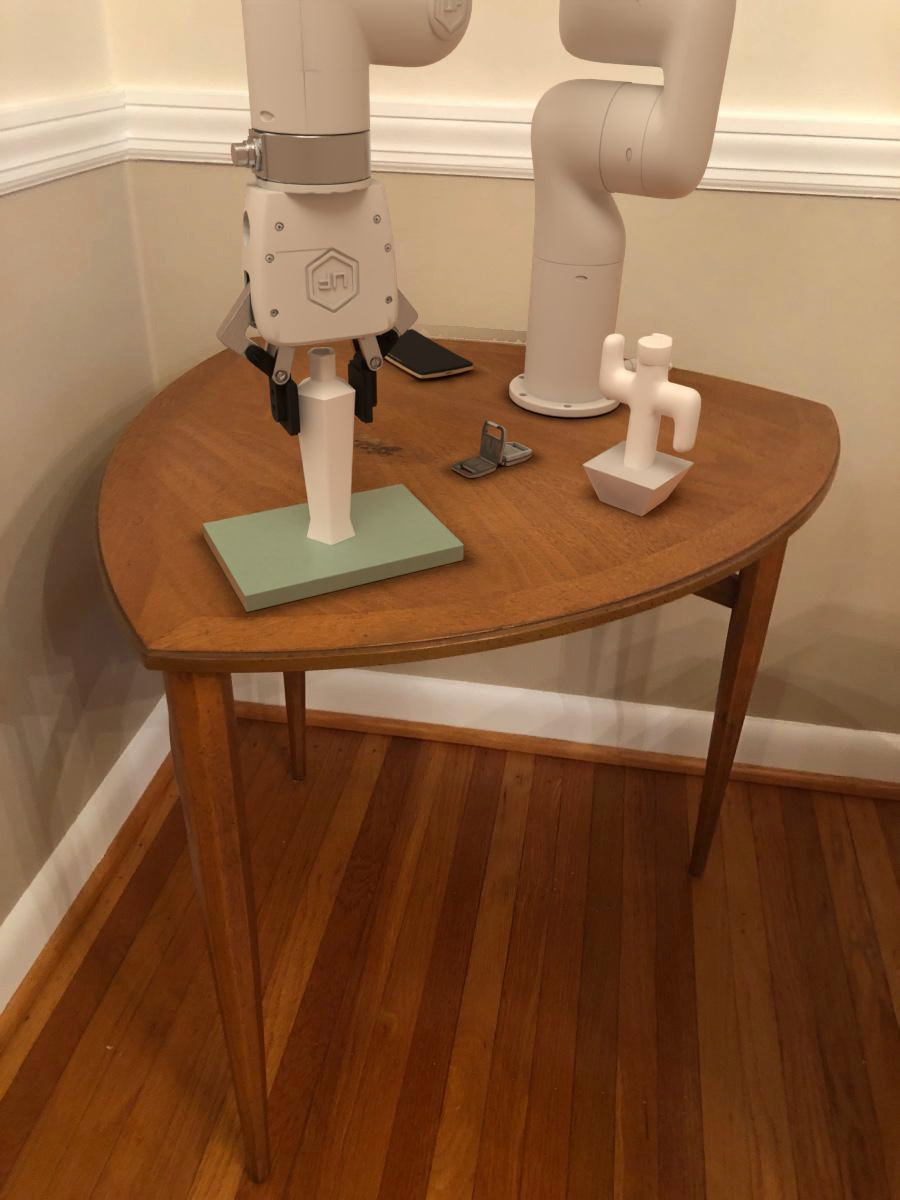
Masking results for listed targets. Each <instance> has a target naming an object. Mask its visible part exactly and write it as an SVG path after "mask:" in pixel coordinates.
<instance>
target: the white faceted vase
mask: <svg viewBox="0 0 900 1200" xmlns="http://www.w3.org/2000/svg"><path fill="white" fill-rule="evenodd" d="M337 354H338V351H337V350H335V349H334V348H333V347H329V346H321V347H320V346H317V347H315V346H314V347H311V348H310V349H309V350H308V351H307V352H306V355H307V356H308V362H309V376H308V377H306V378H304V379H302V380H301V382H300V383H299V384H297V387H298V399H299V415H300V430H301V431H300V433H298V435H297V436H298V441H299V447H300V449H299V450H300V455H301V462H302V463H301V464H302V469H303V477H304V483H305V490H306V491H305V492H306V497H307V503H308V505H309V512H310V524H309V529H308V534H307V538H310V539H313V540H316V541H319V542H322V543H325V544H329V545H334V544H336V543H339V542H341V541H344V540H346V539H349V538H351V537H354V536H355V532H354V529H353V526H352V522H351V519H350V505H351V494H352V479H353V458H354V457H353V455H354V453H353V452H354V432H355V415H354V410H355V390H354V389H353V388H352V387H351V386H350V385H349V384H348V381H346V380H345V378H343V377H340V376H338V375H337V365H336V363H337V362H336V355H337Z"/></svg>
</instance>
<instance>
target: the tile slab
mask: <svg viewBox="0 0 900 1200" xmlns="http://www.w3.org/2000/svg"><path fill="white" fill-rule="evenodd" d="M350 519H351V522H352V526H353V529H354V532H355V536H354V537H351V538H349V539H346V540H344V541H341V542H339V543H336V544H334V545H329V544H325V543H322V542H319V541H316V540H313V539H310V538H307V534H308V529H309V524H310V512H309V505H308V502H304V503H298V504H293V505H289V506H284V507H278V508H273V509H268V510H263V511H258V512H252V513H249V514H243V515H238V516H233V517H227V518H223V519H218V520H213V521H208V522H204V523H202V531H203V537H204V540H205V543H206V544H207V545H208V547H209V550H210V551H211V552H212V554H213V556H214V557H215V560H216V561H217V563H218V565H219V566H220V568H221V570H222V572H223V573H224V575H225V577H226V579H227V580H228V582H229V584H230V586H231V587H232V589H233V591H234V592H235V594H236V596H237V598H238V599H239V602H240V603H241V604H242V606H243V608H244V610H245V612H246V613H250V612H253V611H259V610H262V609H266V608H271V607H275V606H279V605H283V604H287V603H291V602H296V601H299V600H305V599H308V598H312V597H316V596H317V597H318V596H320V595H325V594H328V593H333V592H337V591H341V590H346V589H350V588H353V587H358V586H362V585H366V584H370V583H374V582H379V581H383V580H387V579H391V578H394V577H399V576H403V575H408V574H411V573H416V572H421V571H424V570H429V569H433V568H437V567H441V566H444V565H445V566H446V565H449V564H453V563H458V562H462V561H464V555H465V554H464V553H465V552H464V551H465V544H464V543H463V542H462V541H461V540H460V539H459V538H458V537H457V536H456V535H455V534H454V533H453V532H452V531H451V530H450V529H449V528H448V527H446V525H445V524H444V523H443V522H442V521H441V520H440V519H439V518H437V516H435V515H434V514H433V512H431V510H430V509H429V508H428V507H426V505H424V504H423V503H422V502H421V501H420V500H419V499H418V497H416V496H415V495H414V494H413V493H412V492H411V491H410V490H409V489H408V488H407V487H406V486H405V485H404V484H403V483H399V484H394V485H388V486H383V487H378V488H373V489H369V490H364V491H359V492H353V493H351V505H350Z"/></svg>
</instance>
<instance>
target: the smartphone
mask: <svg viewBox="0 0 900 1200" xmlns="http://www.w3.org/2000/svg"><path fill="white" fill-rule="evenodd" d="M384 359H385V360H387V361H388V362H390V363H392V364H394V365H395V366H397V367H399V368H400V369H402V370H404V371H405V372H407V373H409V374H411V375H413V376H415V377H417V378H418V379H430V378H439V377H444V376H451V375H455V374H460V373H463V372H467V371H470V370H473V369H474V363H473V362H472V361H471V360H468V359H466V358H464V357H463V356H460V355H458V354H457V353H455V352H453V351H452V350H450V349H448V348H447V347H444V346H442V345H440V344H439V343H437V342H435V341H434V340H432V339H431V338H429V337H427V336H425V335H423V334H422V333H420V332H419V331H417V330H415V329H414V328H413V329H411V328H409V329H408V330H407V331H406V332H405V333H404V334H403V335H401V336H400V337H399V339H398V342H397V343H396V344H395V346H394V347H393V348H392V349H391V350H390V352H389V353H388V354H387V355H386V357H385V358H384Z"/></svg>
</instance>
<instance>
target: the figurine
mask: <svg viewBox="0 0 900 1200" xmlns="http://www.w3.org/2000/svg"><path fill="white" fill-rule="evenodd" d="M673 343H674V340H673V337H672V336H670V335H668V334H666V333H665V334H664V333H659V332H653V333H652V334H651V335H646V336H642V337H640V338H639V339H638V340H637V349H636V358H637V368H636V372H632V371H628V370H626V369H625V367H624V360H625V350H626V349H625V348H626V338H625V336H624V335H622V334H621V333H615V334H611V335H609V336H607V337H606V339H605V340H604V344H603V350H602V359H601V367H600V377H599V388H600V391H601V393H602V395H603V396H604V397H606V398H608V399H611V400H615V401H618V402H620V404H621V403H622V404H624V405H628V406H629V407H628V408H629V409H630V411H629V420H628V427H627V432H626V433H627V435H626V439H625V440H622V441H620V442H619V443H617V444H615V445H613V446H611V447H610V448H608V449H607V450H604V451H602V452H601V453H600V454H598V455H596V456H595V457H593V458H591V459H590V460H588V461H586V462H584V463H583V464H581V466H582V468H583V470H584V472H585V474H586V475H587V478H588V480H589V482H590V485H591V486H592V488H593V490H594V492H595V494H596V497H597V498H598V500H599V502H601V503H604V504H607V505H609V506H612V507H615V508H617V509H620V510H623V511H626V512H628V513H631V514H634V515H637V516H639V517H644V516H645V515H646V514H648V513H649V512H651V511H652V510H653V509H655V508H656V507H658V506H659V505H661V504H662V503H663V502H665V501H666V500H667V499H668V498H669V497H670V495H671V494H672V492H673V491H674V489H675V488H677V486H678V485H679V483H680V482H681V481H682V480H683V478H684V477H685V476H686V474H688V472H689V470H690V469H691V468H692V467H693V466H694V464H695V462H693V461H690V460H687V459H683V458H681V457H678V456H674V455H671V454H668V453H665V452H662V451H659V450H657V446H658V440H659V432H660V426H661V421H662V416H664V417H669V418H672V420H673V422H674V432H673V440H672V448H673V449H674V451H676V452H677V453H687V452H689V451H691V450H692V449H693V448H694V446H695V444H696V438H697V434H698V429H699V428H698V427H699V423H700V422H699V421H700V416H701V410H702V397H701V395H700V393H699V391H697V390H696V389H695V388H692V387H689V386H685V385H682V384H679V383H675V382H671V381H669V371H671V370H672V368H673V362H671V361H672V355H673V354H672V352H673V345H674V344H673Z"/></svg>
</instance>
